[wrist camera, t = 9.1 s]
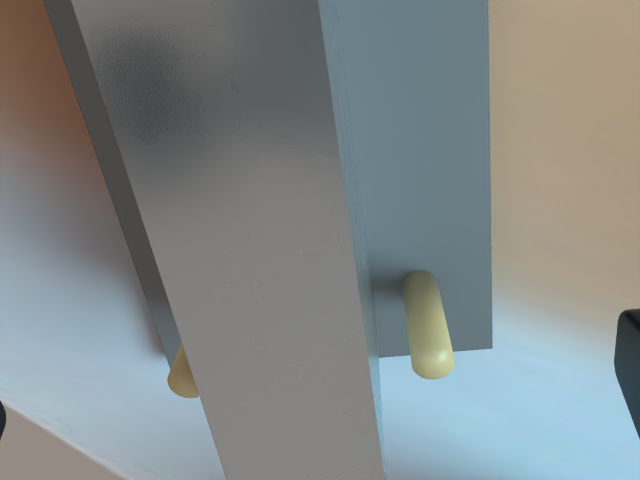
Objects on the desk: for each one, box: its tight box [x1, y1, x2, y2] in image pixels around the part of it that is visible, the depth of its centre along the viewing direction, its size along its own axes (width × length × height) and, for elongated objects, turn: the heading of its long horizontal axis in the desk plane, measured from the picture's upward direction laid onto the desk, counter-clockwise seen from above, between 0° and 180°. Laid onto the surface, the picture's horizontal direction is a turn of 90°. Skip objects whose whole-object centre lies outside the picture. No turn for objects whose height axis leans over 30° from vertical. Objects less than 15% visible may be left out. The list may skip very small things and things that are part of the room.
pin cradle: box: [44, 0, 492, 398], centre depth 16 cm, size 20×12×5 cm, turn 8°
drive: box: [71, 0, 385, 480], centre depth 14 cm, size 16×4×7 cm, turn 8°
